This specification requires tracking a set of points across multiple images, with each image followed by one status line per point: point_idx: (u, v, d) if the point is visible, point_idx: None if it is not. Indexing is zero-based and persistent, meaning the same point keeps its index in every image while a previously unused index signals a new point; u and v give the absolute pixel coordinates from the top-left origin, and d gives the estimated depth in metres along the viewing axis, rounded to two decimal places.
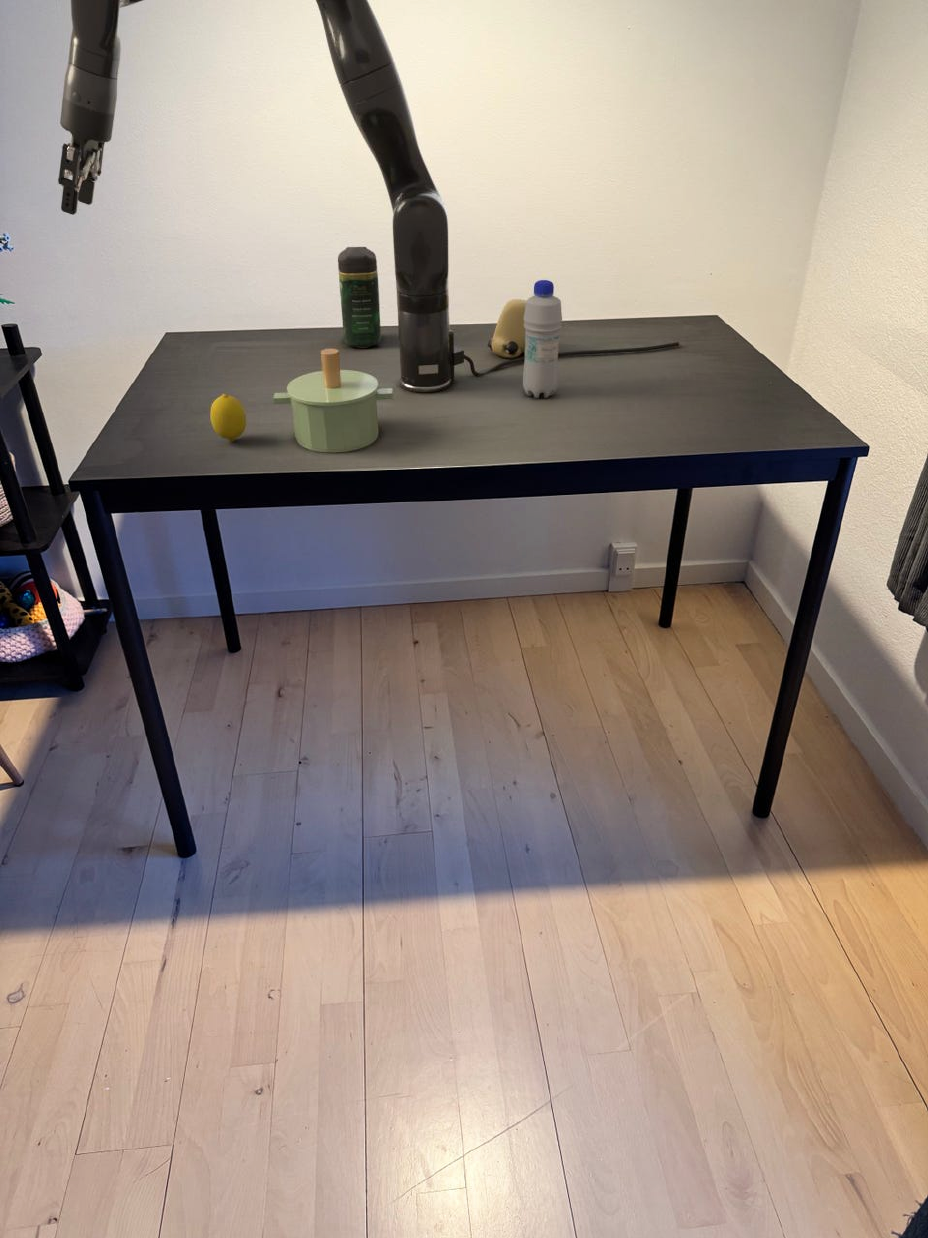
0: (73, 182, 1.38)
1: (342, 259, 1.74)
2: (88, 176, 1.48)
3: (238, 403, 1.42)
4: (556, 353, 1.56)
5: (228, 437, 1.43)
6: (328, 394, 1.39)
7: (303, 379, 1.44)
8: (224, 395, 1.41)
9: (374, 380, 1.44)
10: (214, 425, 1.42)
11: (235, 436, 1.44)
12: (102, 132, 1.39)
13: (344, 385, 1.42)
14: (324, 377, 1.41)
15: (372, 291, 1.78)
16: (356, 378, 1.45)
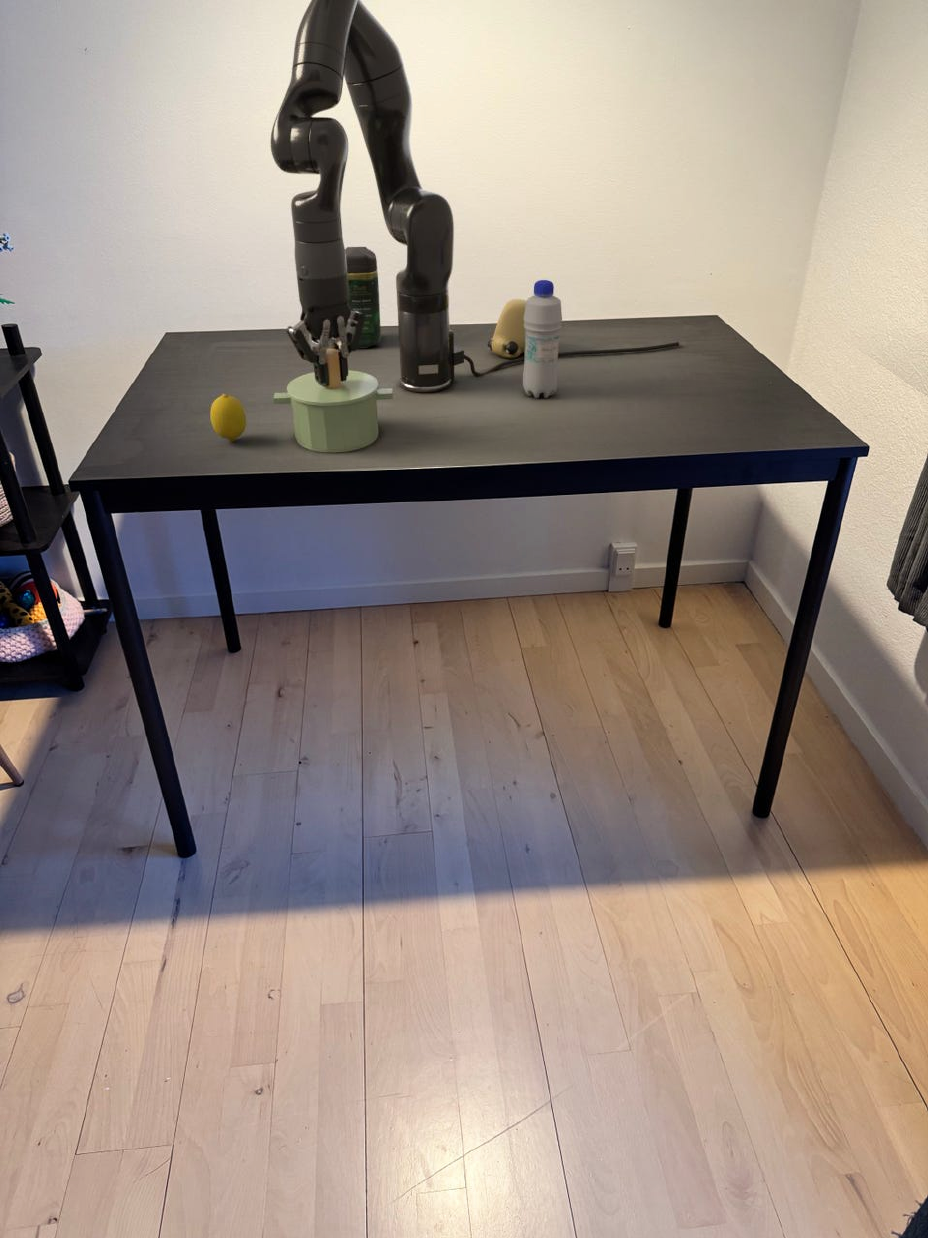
0: None
1: None
2: None
3: (238, 403, 1.42)
4: (556, 353, 1.56)
5: (228, 437, 1.43)
6: (328, 394, 1.39)
7: (303, 379, 1.44)
8: (224, 395, 1.41)
9: (374, 380, 1.44)
10: (214, 425, 1.42)
11: (235, 436, 1.44)
12: None
13: (344, 385, 1.42)
14: None
15: (372, 291, 1.78)
16: (356, 378, 1.45)
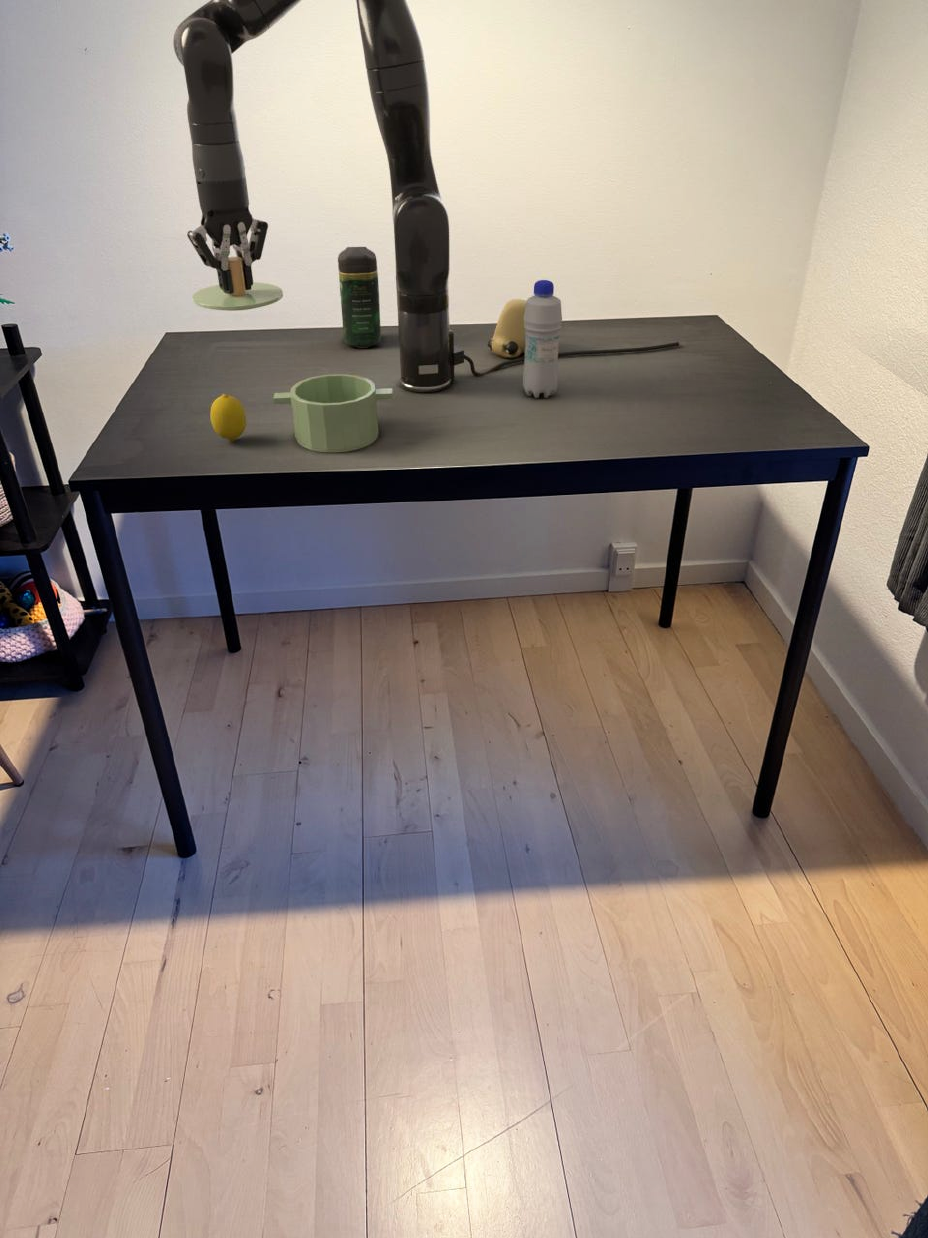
0: (253, 249, 1.46)
1: (342, 259, 1.74)
2: None
3: (238, 403, 1.42)
4: (556, 353, 1.56)
5: (228, 437, 1.43)
6: (231, 300, 1.43)
7: (210, 289, 1.48)
8: (224, 395, 1.41)
9: (279, 290, 1.48)
10: (214, 425, 1.42)
11: (235, 436, 1.44)
12: None
13: (249, 293, 1.46)
14: None
15: (372, 291, 1.78)
16: (262, 288, 1.48)
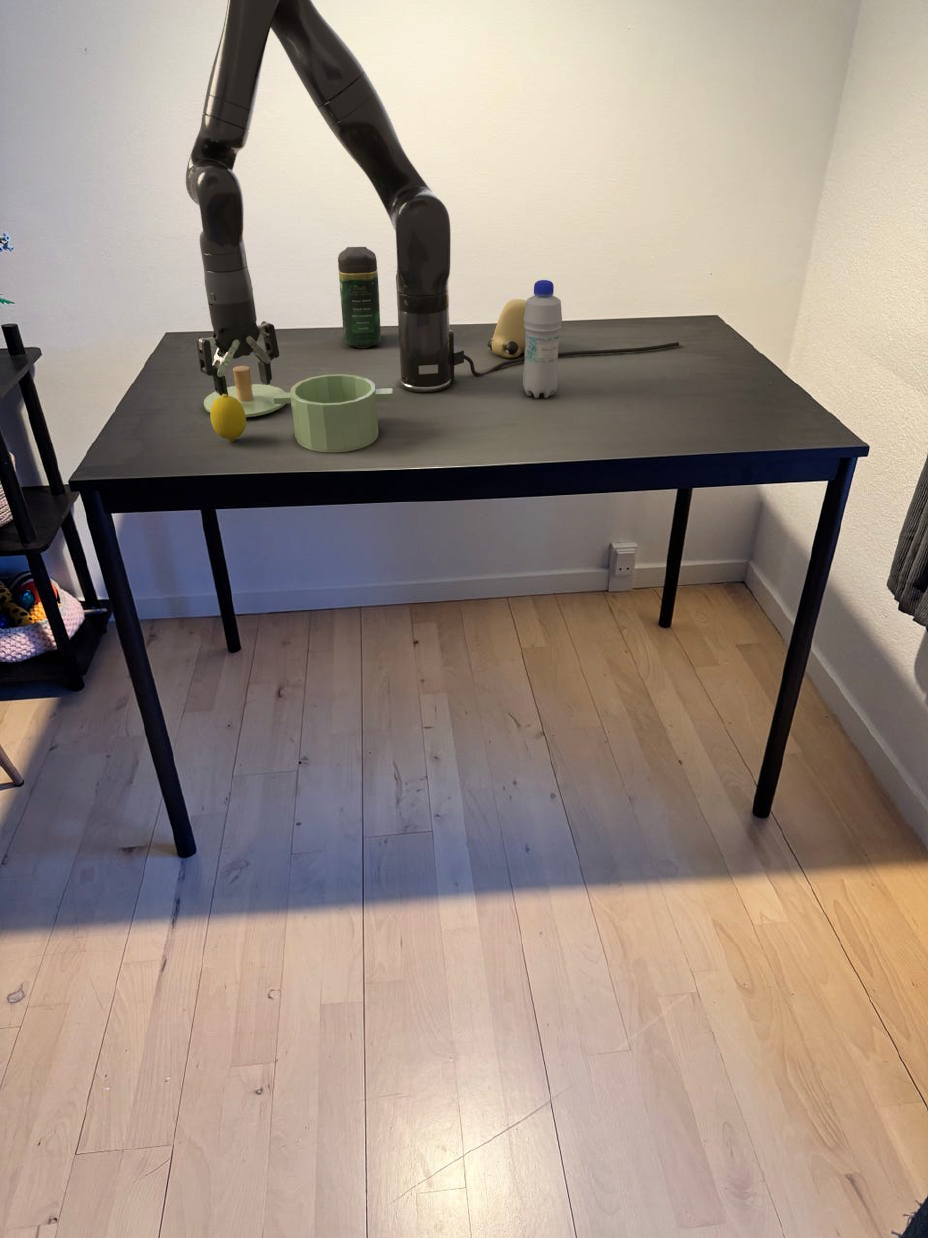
0: None
1: (342, 259, 1.74)
2: None
3: (238, 403, 1.42)
4: (556, 353, 1.56)
5: (228, 437, 1.43)
6: None
7: None
8: (224, 395, 1.41)
9: None
10: (214, 425, 1.42)
11: (235, 436, 1.44)
12: None
13: (256, 398, 1.58)
14: (237, 391, 1.56)
15: (372, 291, 1.78)
16: (268, 392, 1.60)
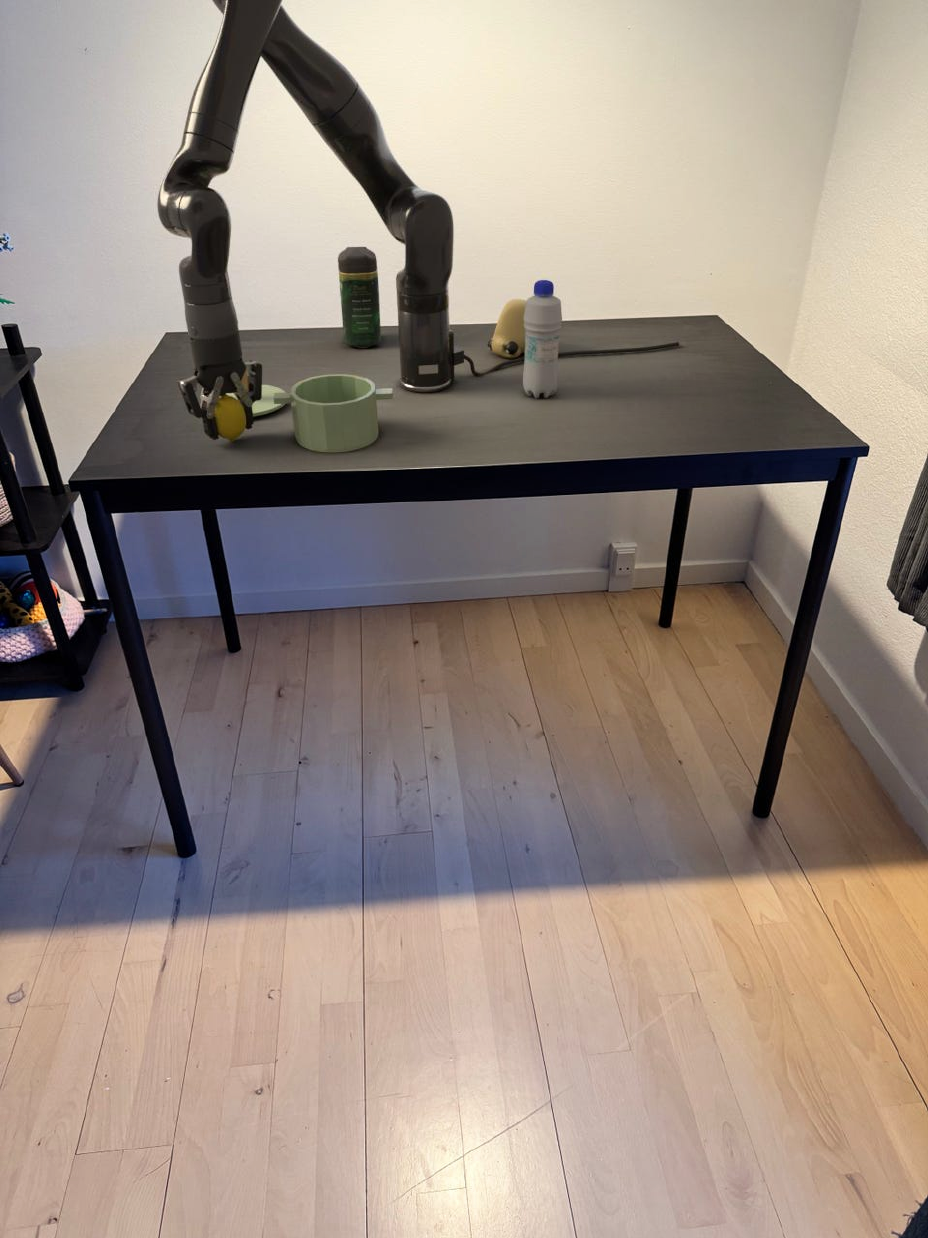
0: (254, 389, 1.46)
1: (342, 259, 1.74)
2: None
3: (238, 403, 1.42)
4: (556, 353, 1.56)
5: (228, 437, 1.43)
6: None
7: None
8: (224, 395, 1.41)
9: None
10: None
11: (235, 436, 1.44)
12: None
13: None
14: None
15: (372, 291, 1.78)
16: (268, 392, 1.60)
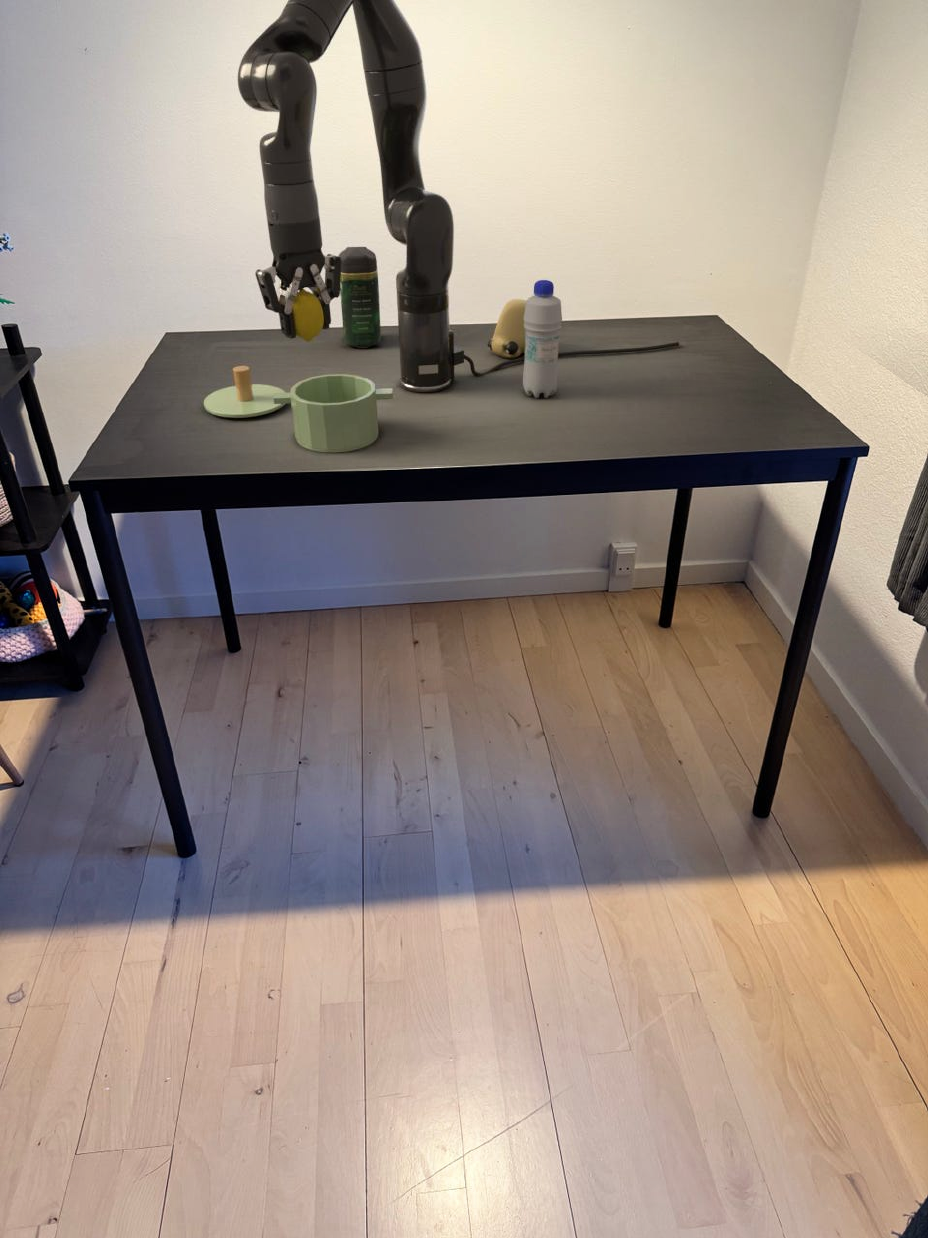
0: (331, 286, 1.38)
1: (342, 259, 1.74)
2: None
3: (316, 299, 1.34)
4: (556, 353, 1.56)
5: (305, 336, 1.36)
6: (239, 407, 1.55)
7: (220, 393, 1.60)
8: (302, 290, 1.33)
9: None
10: None
11: (313, 335, 1.36)
12: None
13: (256, 398, 1.58)
14: (237, 391, 1.56)
15: (372, 291, 1.78)
16: (268, 392, 1.60)
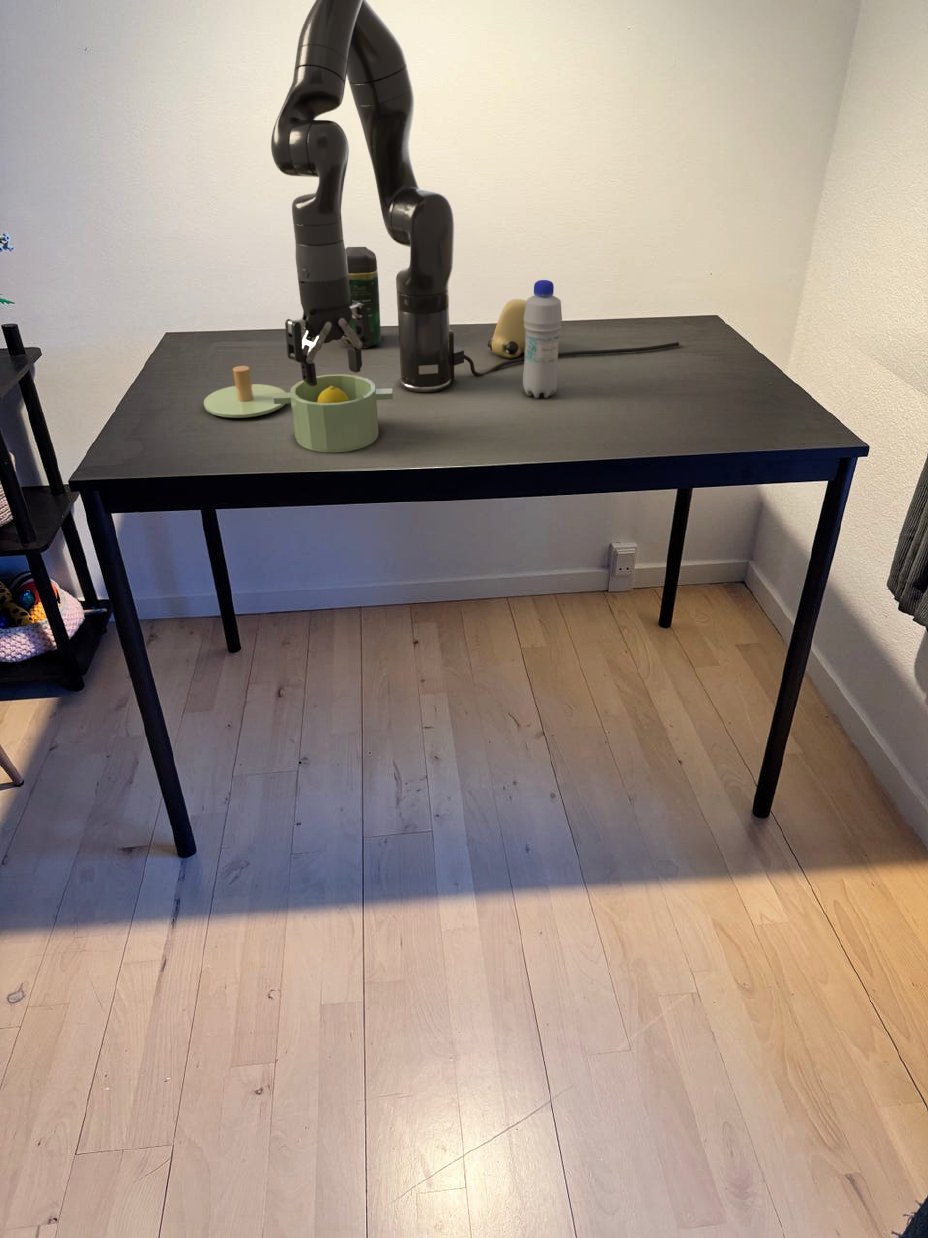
0: (362, 331, 1.43)
1: None
2: None
3: (345, 395, 1.43)
4: (556, 353, 1.56)
5: None
6: (239, 407, 1.55)
7: (220, 393, 1.60)
8: (331, 387, 1.42)
9: None
10: None
11: None
12: None
13: (256, 398, 1.58)
14: (237, 391, 1.56)
15: (372, 291, 1.78)
16: (268, 392, 1.60)
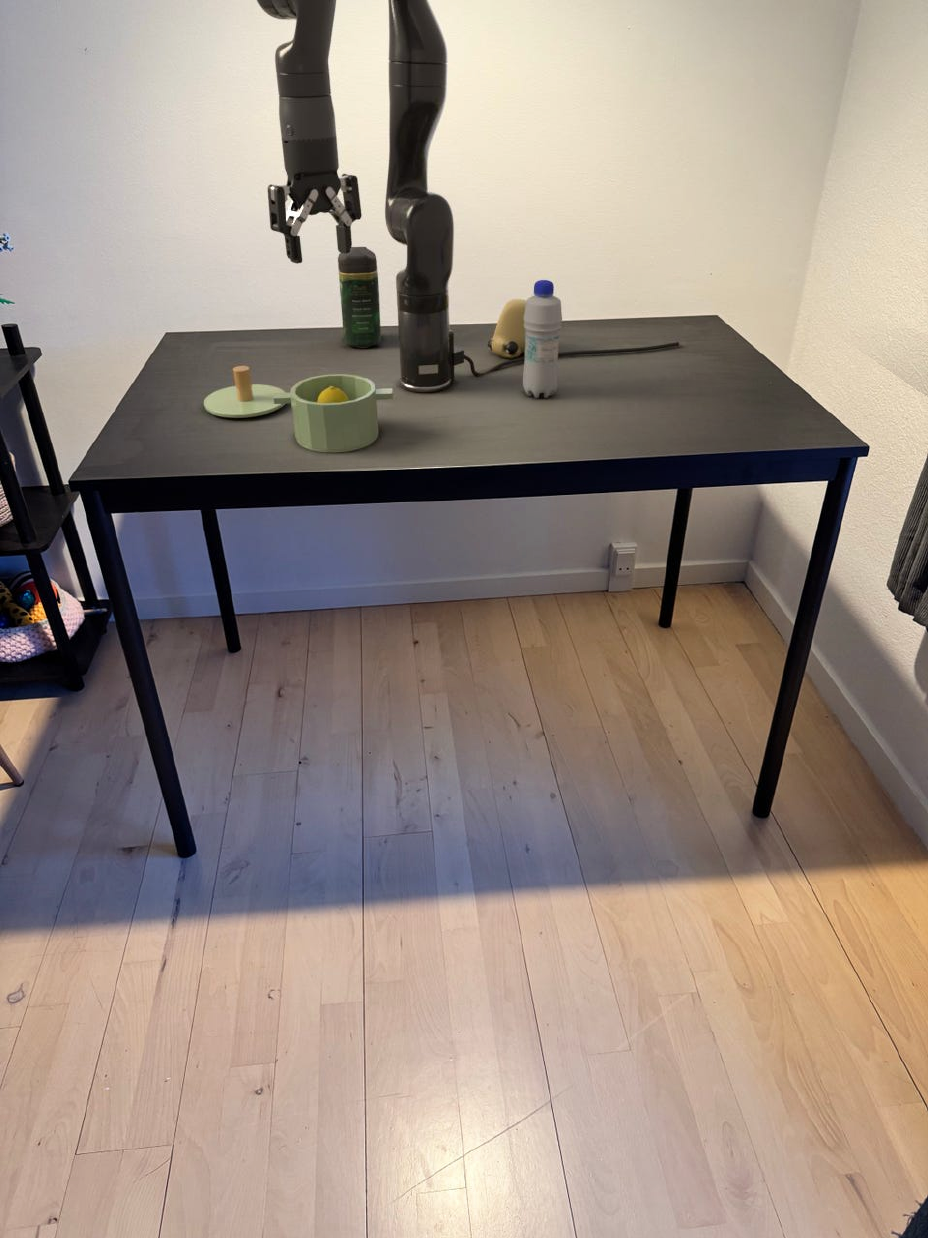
0: (352, 208, 1.32)
1: (342, 259, 1.74)
2: None
3: (345, 395, 1.43)
4: (556, 353, 1.56)
5: None
6: (239, 407, 1.55)
7: (220, 393, 1.60)
8: (331, 387, 1.42)
9: None
10: None
11: None
12: None
13: (256, 398, 1.58)
14: (237, 391, 1.56)
15: (372, 291, 1.78)
16: (268, 392, 1.60)
